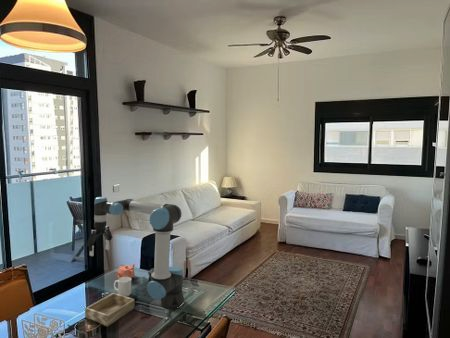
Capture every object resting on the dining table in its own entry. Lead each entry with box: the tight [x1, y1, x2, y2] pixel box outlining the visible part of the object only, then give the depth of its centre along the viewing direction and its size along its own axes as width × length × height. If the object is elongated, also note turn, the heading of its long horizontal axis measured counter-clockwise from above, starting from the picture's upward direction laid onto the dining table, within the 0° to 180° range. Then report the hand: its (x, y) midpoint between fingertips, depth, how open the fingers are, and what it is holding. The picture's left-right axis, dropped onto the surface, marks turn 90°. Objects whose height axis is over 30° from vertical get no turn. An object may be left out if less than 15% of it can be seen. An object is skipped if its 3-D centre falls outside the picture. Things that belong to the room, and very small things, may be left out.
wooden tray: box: [84, 292, 136, 327], centre depth 191 cm, size 17×22×6 cm
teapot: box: [116, 262, 136, 280], centre depth 237 cm, size 14×12×10 cm
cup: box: [113, 277, 132, 297], centre depth 215 cm, size 8×12×10 cm
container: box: [147, 267, 154, 283], centre depth 232 cm, size 13×13×10 cm
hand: (99, 252), depth 212 cm, fingers open, 13 cm apart
